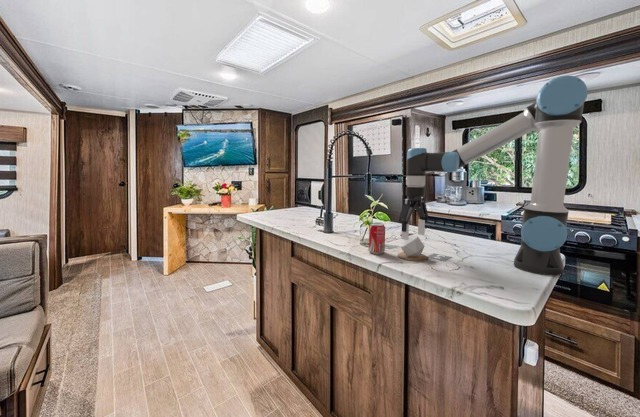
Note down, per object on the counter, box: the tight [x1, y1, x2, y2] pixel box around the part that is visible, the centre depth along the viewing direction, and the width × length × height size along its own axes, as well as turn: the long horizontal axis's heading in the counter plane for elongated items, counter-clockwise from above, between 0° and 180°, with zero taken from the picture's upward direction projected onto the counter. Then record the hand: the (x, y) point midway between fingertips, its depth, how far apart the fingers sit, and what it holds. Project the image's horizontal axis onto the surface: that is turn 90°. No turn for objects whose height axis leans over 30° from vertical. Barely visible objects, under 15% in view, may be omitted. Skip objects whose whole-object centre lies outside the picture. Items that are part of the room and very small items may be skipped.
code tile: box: [426, 252, 453, 262], centre depth 125 cm, size 8×8×1 cm
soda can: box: [368, 222, 386, 255], centre depth 131 cm, size 7×7×13 cm
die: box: [400, 236, 425, 257], centre depth 125 cm, size 8×9×10 cm
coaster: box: [397, 251, 428, 262], centre depth 125 cm, size 12×12×1 cm
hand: (413, 236), depth 124 cm, fingers open, 13 cm apart
